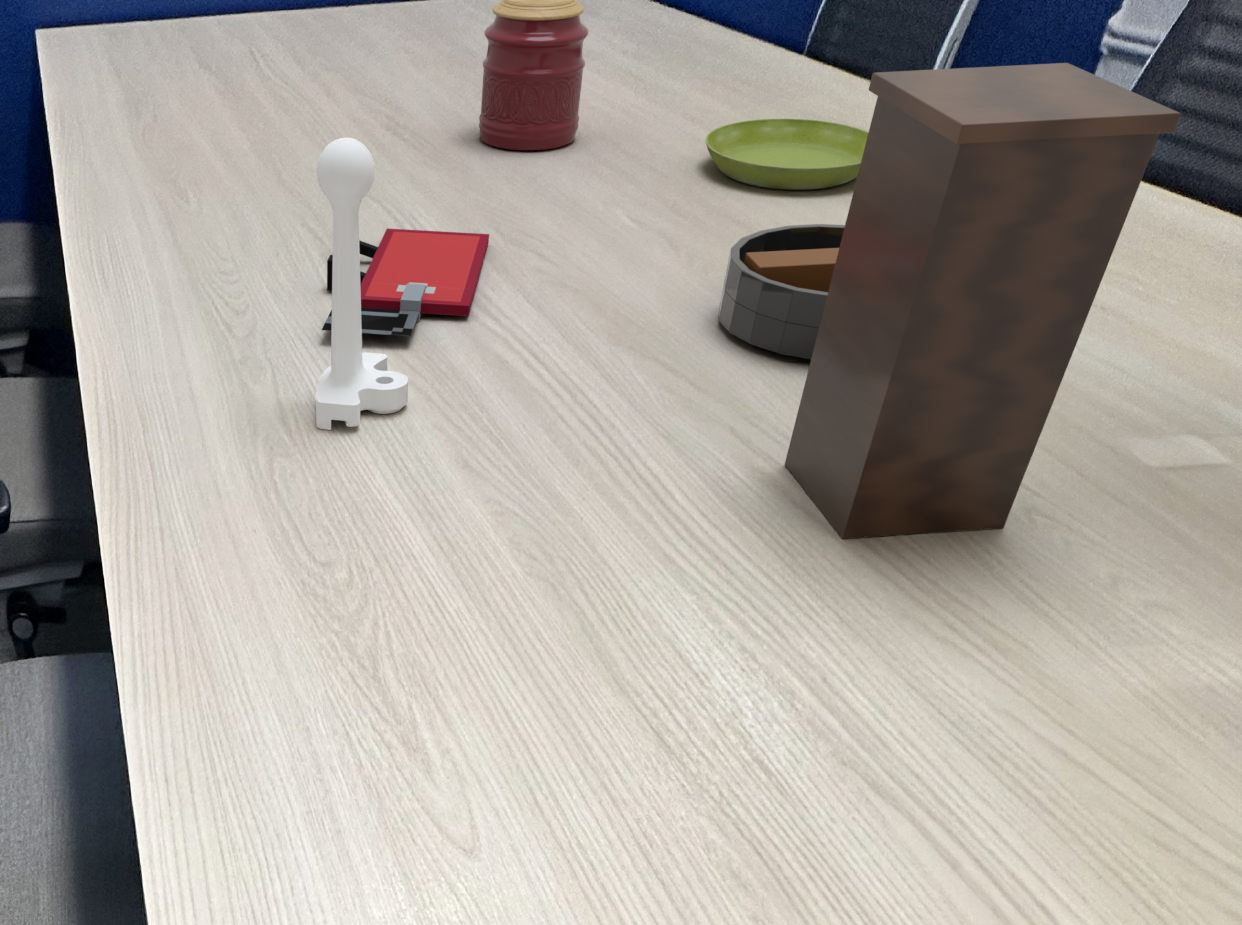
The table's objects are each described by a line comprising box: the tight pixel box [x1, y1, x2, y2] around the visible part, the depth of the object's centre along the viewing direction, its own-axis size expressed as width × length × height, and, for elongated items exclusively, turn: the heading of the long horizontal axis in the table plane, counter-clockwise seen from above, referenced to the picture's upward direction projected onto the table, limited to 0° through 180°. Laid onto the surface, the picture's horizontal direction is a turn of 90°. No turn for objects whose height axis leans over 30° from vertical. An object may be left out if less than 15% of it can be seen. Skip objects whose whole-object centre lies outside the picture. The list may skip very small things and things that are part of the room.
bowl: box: [718, 223, 845, 360], centre depth 117 cm, size 20×20×6 cm
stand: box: [784, 62, 1182, 540], centre depth 86 cm, size 13×13×26 cm
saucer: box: [705, 118, 869, 191], centre depth 152 cm, size 21×21×3 cm
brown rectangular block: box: [744, 248, 839, 292], centre depth 115 cm, size 17×4×3 cm, turn 94°
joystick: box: [315, 137, 409, 431], centre depth 102 cm, size 11×8×20 cm
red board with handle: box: [321, 228, 490, 337], centre depth 127 cm, size 30×3×15 cm
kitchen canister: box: [478, 0, 590, 151], centre depth 160 cm, size 13×13×18 cm
